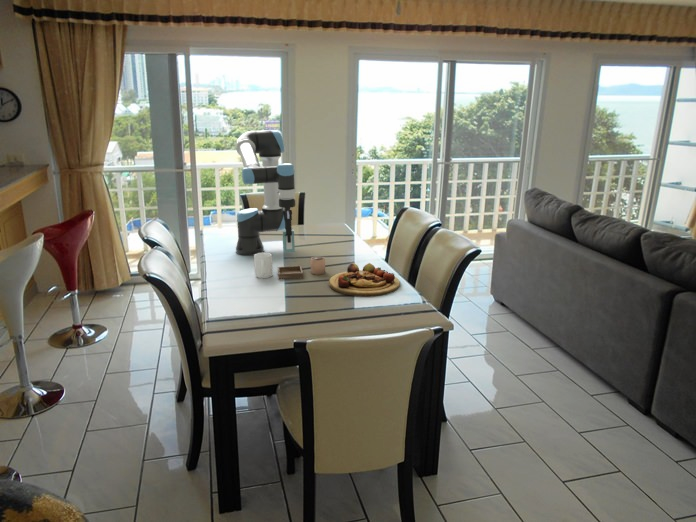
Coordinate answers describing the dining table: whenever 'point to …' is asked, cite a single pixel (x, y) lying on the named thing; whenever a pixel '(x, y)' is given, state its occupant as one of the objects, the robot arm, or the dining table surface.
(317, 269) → the terracotta pot
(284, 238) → the teal block
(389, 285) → the wooden plate with food
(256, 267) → the mug
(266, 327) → the dining table surface
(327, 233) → the dining table surface
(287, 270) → the walnut box
